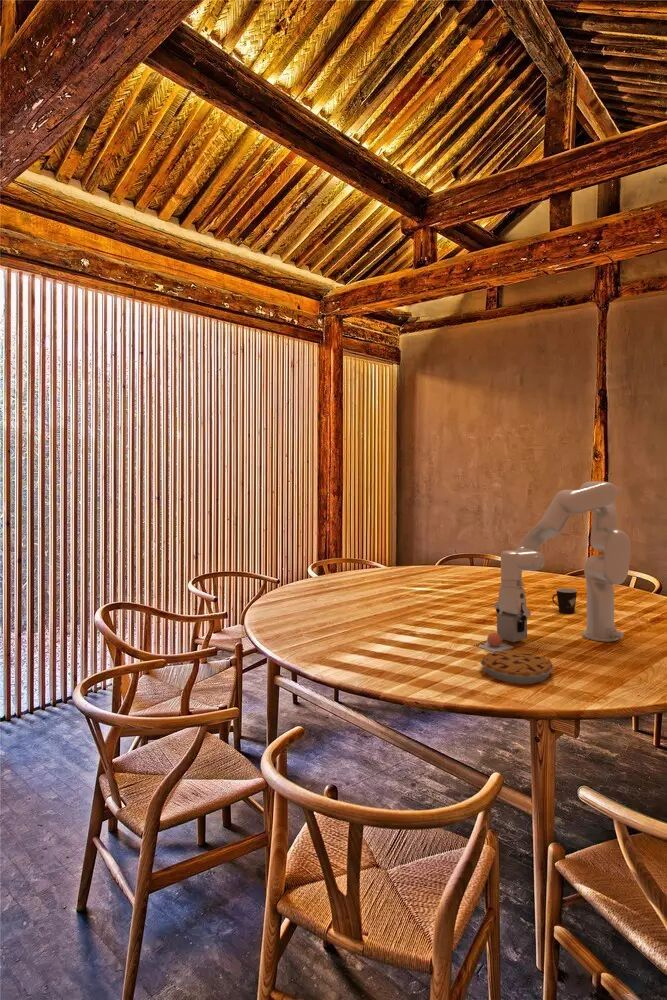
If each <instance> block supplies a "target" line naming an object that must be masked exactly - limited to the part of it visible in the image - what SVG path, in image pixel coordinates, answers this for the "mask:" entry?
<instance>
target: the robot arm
mask: <svg viewBox="0 0 667 1000" xmlns="http://www.w3.org/2000/svg"><path fill="white" fill-rule="evenodd" d="M618 497H619V490H618V487H617V486H616V485H615V484H613V483H612V482H608V481H586V482H583V484H582V485H580V487H579V489H562V490H560V491H558V492H557V493H556V495H555V496H554V498H553V499H552V501H551V503H550V504H549V506H548V507H547V509H546V510H545V512H544V514H543V516H542V517H541V519H540V520H539V522H538V523H537V524H535V526H533V527H532V528H531V529H530V530H529V531H528V532H526V534H525V535H524V537H523V538H522V539H521V541H520V542H519V544H518V546H517V547H516V549H515V550H510V549H509V550H503V551H502V552H501V553H500V585H499V589H498V596H497V597H498V601H496V602H495V603H493V607H494V608H495V612H496V613H497V614H501V613H505V612H506V613H510V614H514V615H516V616H517V618H518V620H519V622H518V623H517V626H518V632H519V633H520V632H524V629H525V621H526V620H527V621H528V619H529V617H531V614H532V612H531V611H530V609H528V608H527V607H528V606H527V598H526V591H525V587H523V586H524V585H525V583H524V582H523V576H522V575H523V573H522V572H523V571H524V570H525V571H532V572H533V571H539V570H542V568H543V567H545V564H546V558H545V556H544V554H543V553H541V552H540V551H538V550H539V549H540V547H541V546H542V544H544V543H545V542H546V541H548V540H550V539H552V538H554V537H557V536H558V535H561V533H562V532H563V530H564V528H565V527H566V525H567V523H568V522H569V520H570V519H571V517H572V515H574V514H582V513H586V512H591V514H592V522H591V532H590V545H591V547H592V549H594V550H595V551H597V552H601V553H603V555H601V554H594V555H591V556H589V557H588V558H587V559H586V560H585V562H584V566H583V572H584V573H583V574H584V578H585V586H586V629H585V630H583V631H582V633H581V635H582V637H584V638H585V639H587V640H591V641H594V642H603V643H605V642H607V643H609V642H615V641H618V640H619V639H623V638H624V635H625V634H624V632H622V631H618V627H617V626H615V588H614V586H618V585H621V584H622V583H624V582H625V581H626V579H627V578H628V574H629V569H630V559H631V549H632V545H631V539H630V537H629V535H628V534H627V533H626V532H625V531H623V530H621V529H618V510H617V506H616V504H615V501H616V500H617V499H618ZM520 615H521V617H522V618H521V617H520Z"/></svg>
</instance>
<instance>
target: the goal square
mask: <svg viewBox="0 0 667 1000" xmlns="http://www.w3.org/2000/svg"><path fill="white" fill-rule="evenodd" d="M485 642H486V643H484V642H483V643H484V644H485V645H481V644H480V643H477V645H478V644H480V645H479V646H478V648H480V647H481V649H483V648H484V649H483V650H486V651H488V650H489V652H490V653H495V651H506V650H511V649H513V648H514V647H515V646H512V645H509V644H506V643H502V642H501V644H500V645H499V646H497V647H493V646H491V645H490V644H489V643H488V641H485ZM474 645H475V646H474V647H477V646H476V644H474Z"/></svg>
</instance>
